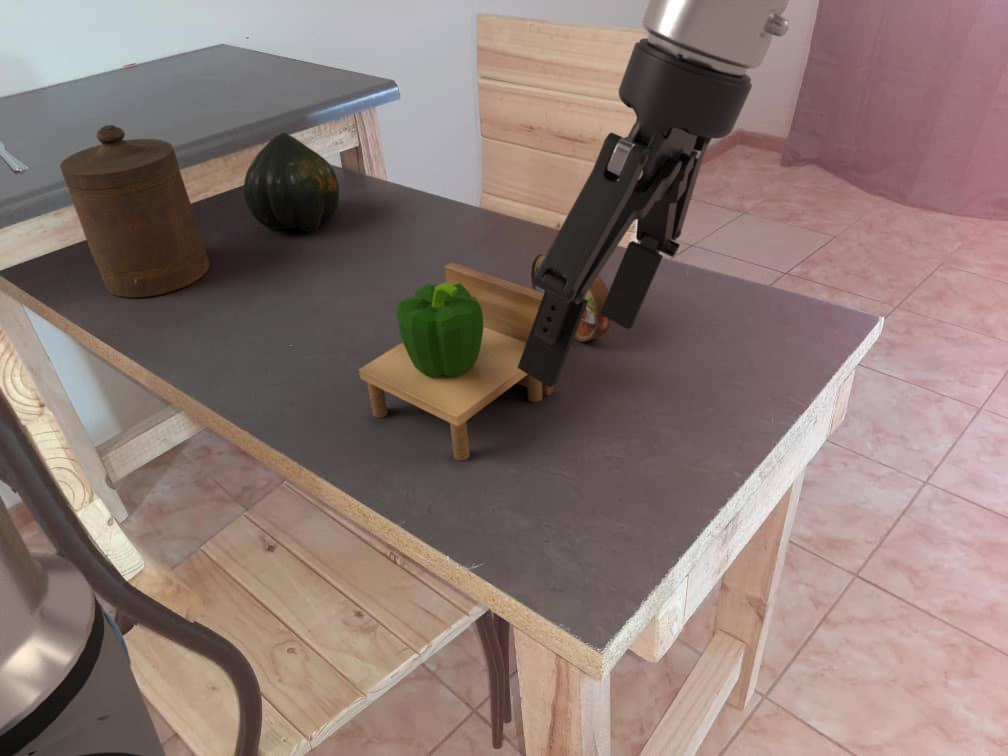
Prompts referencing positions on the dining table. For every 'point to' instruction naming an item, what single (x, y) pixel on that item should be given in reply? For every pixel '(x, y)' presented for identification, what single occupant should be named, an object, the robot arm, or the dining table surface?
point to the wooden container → (136, 214)
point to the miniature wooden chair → (488, 378)
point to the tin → (591, 319)
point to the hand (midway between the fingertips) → (579, 346)
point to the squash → (290, 186)
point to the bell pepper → (441, 329)
